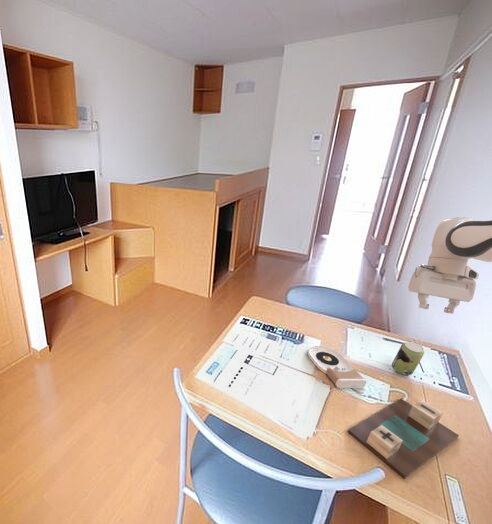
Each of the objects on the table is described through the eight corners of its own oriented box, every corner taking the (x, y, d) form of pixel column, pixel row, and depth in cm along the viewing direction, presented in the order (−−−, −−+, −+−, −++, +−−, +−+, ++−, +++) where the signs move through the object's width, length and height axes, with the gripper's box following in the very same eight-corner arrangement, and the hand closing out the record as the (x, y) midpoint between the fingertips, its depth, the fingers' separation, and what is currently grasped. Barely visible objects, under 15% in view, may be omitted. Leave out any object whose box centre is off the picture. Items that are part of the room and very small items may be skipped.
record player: (335, 380, 99) (303, 342, 117) (332, 388, 100) (302, 349, 118) (370, 380, 99) (333, 342, 117) (367, 387, 100) (331, 349, 119)
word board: (400, 400, 95) (405, 388, 93) (457, 437, 84) (465, 424, 82) (347, 431, 85) (352, 418, 83) (404, 479, 73) (411, 465, 71)
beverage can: (406, 366, 110) (418, 339, 105) (417, 381, 103) (431, 352, 98) (386, 363, 111) (397, 336, 106) (396, 377, 105) (408, 349, 100)
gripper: (427, 263, 93) (418, 307, 93) (483, 275, 95) (473, 318, 96) (407, 262, 99) (398, 303, 100) (460, 273, 102) (451, 313, 102)
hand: (435, 310), depth 98 cm, fingers open, 8 cm apart
